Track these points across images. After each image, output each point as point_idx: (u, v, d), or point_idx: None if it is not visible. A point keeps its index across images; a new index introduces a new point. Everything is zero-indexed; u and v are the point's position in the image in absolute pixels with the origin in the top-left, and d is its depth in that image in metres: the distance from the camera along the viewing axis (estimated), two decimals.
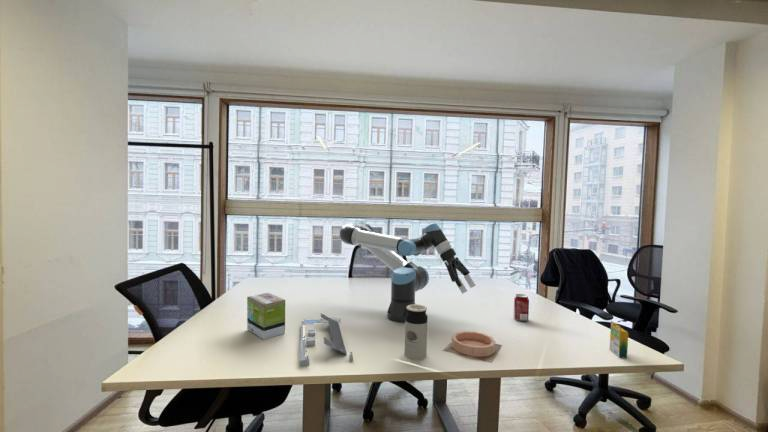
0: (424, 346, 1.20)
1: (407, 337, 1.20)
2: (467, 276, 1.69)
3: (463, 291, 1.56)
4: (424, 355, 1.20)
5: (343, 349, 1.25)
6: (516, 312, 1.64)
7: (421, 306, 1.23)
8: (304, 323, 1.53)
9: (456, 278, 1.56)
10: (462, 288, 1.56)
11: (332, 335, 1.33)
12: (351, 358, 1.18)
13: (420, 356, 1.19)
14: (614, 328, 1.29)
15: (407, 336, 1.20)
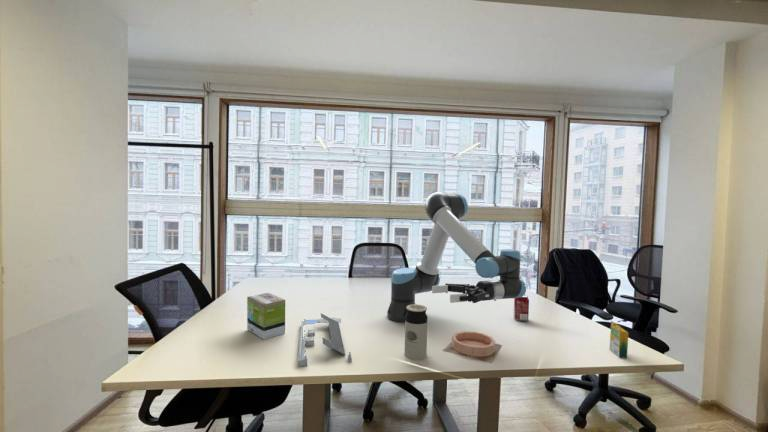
0: (424, 346, 1.20)
1: (407, 337, 1.20)
2: (445, 289, 1.33)
3: (452, 298, 1.19)
4: (424, 355, 1.20)
5: (342, 349, 1.25)
6: (516, 312, 1.64)
7: (421, 306, 1.23)
8: (304, 323, 1.53)
9: (471, 300, 1.20)
10: (455, 299, 1.19)
11: (331, 335, 1.33)
12: (349, 358, 1.17)
13: (420, 356, 1.19)
14: (614, 328, 1.29)
15: (407, 336, 1.20)
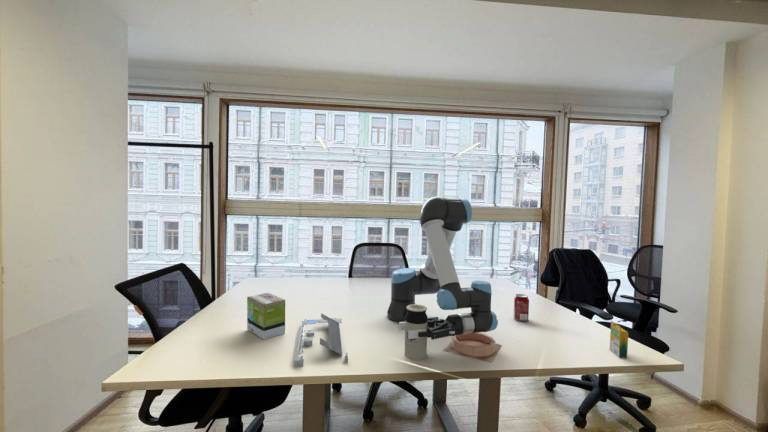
0: (424, 346, 1.20)
1: (407, 337, 1.20)
2: None
3: (410, 334, 1.17)
4: (424, 355, 1.20)
5: (339, 350, 1.24)
6: (516, 312, 1.64)
7: (421, 306, 1.23)
8: (305, 323, 1.53)
9: (429, 336, 1.17)
10: (413, 335, 1.17)
11: (330, 336, 1.32)
12: (346, 359, 1.16)
13: (420, 356, 1.19)
14: (614, 328, 1.29)
15: (407, 336, 1.20)
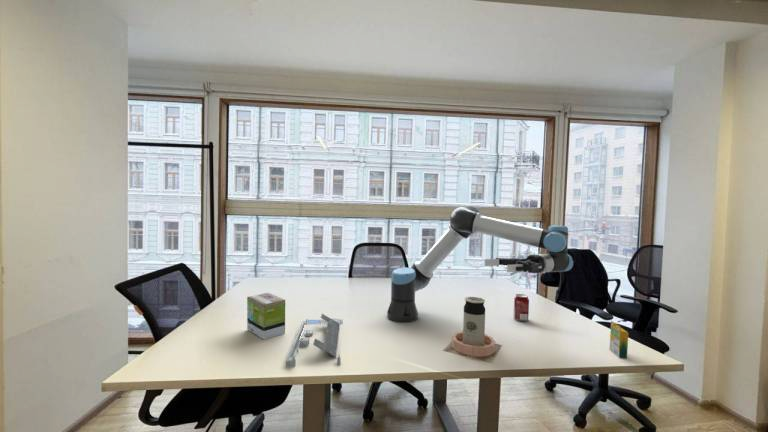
0: (483, 336, 1.27)
1: (467, 327, 1.27)
2: (497, 263, 1.40)
3: (509, 268, 1.26)
4: (483, 344, 1.27)
5: (334, 351, 1.23)
6: (516, 312, 1.64)
7: (478, 298, 1.30)
8: (306, 323, 1.53)
9: (526, 270, 1.27)
10: (512, 269, 1.26)
11: (326, 336, 1.31)
12: (338, 361, 1.15)
13: (479, 345, 1.26)
14: (614, 328, 1.29)
15: (467, 326, 1.27)
